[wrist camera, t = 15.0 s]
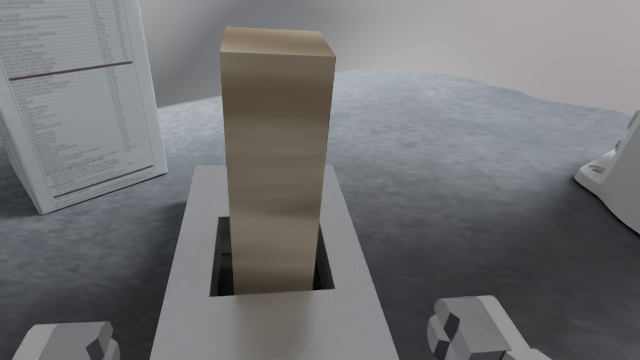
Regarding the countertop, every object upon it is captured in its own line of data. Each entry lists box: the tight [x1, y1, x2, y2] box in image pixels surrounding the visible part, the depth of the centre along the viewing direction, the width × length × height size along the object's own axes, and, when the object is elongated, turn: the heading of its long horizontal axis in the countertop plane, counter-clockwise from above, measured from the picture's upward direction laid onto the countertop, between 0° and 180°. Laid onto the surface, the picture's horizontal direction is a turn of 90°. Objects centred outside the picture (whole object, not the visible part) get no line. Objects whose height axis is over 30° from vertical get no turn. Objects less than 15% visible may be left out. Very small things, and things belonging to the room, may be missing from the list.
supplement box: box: [0, 0, 168, 215], centre depth 27 cm, size 10×9×17 cm
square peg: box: [220, 27, 336, 295], centre depth 19 cm, size 4×4×14 cm
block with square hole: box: [150, 165, 399, 360], centre depth 21 cm, size 18×10×3 cm, turn 8°
